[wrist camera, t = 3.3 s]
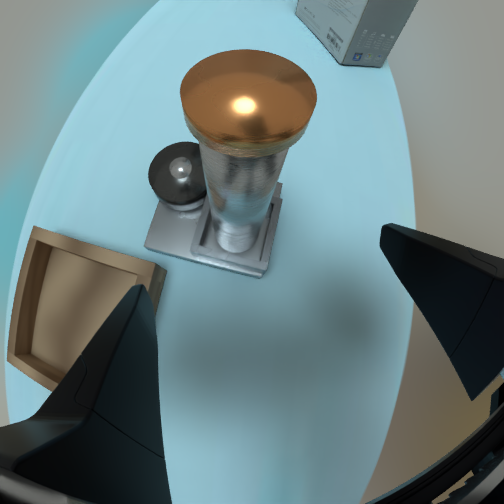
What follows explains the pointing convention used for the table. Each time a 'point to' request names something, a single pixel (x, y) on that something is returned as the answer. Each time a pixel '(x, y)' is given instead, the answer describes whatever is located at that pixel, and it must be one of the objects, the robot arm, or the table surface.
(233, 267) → the plate
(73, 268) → the tray
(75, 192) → the table surface
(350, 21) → the hard drive box
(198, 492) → the table surface
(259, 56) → the pin
